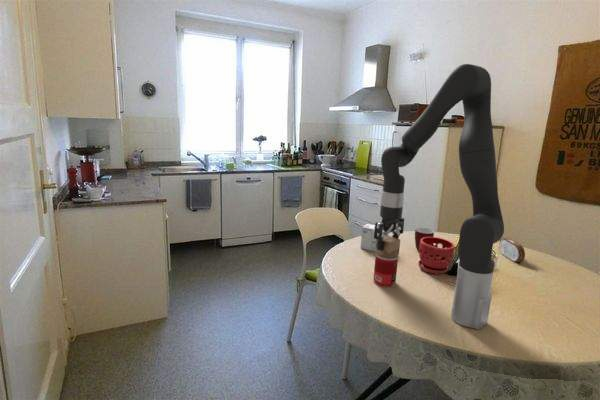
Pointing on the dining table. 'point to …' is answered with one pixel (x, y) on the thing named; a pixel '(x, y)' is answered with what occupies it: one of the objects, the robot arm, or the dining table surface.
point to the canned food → (385, 271)
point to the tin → (512, 249)
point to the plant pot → (435, 254)
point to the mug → (422, 235)
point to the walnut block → (389, 247)
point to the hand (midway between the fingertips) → (387, 247)
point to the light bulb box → (368, 237)
